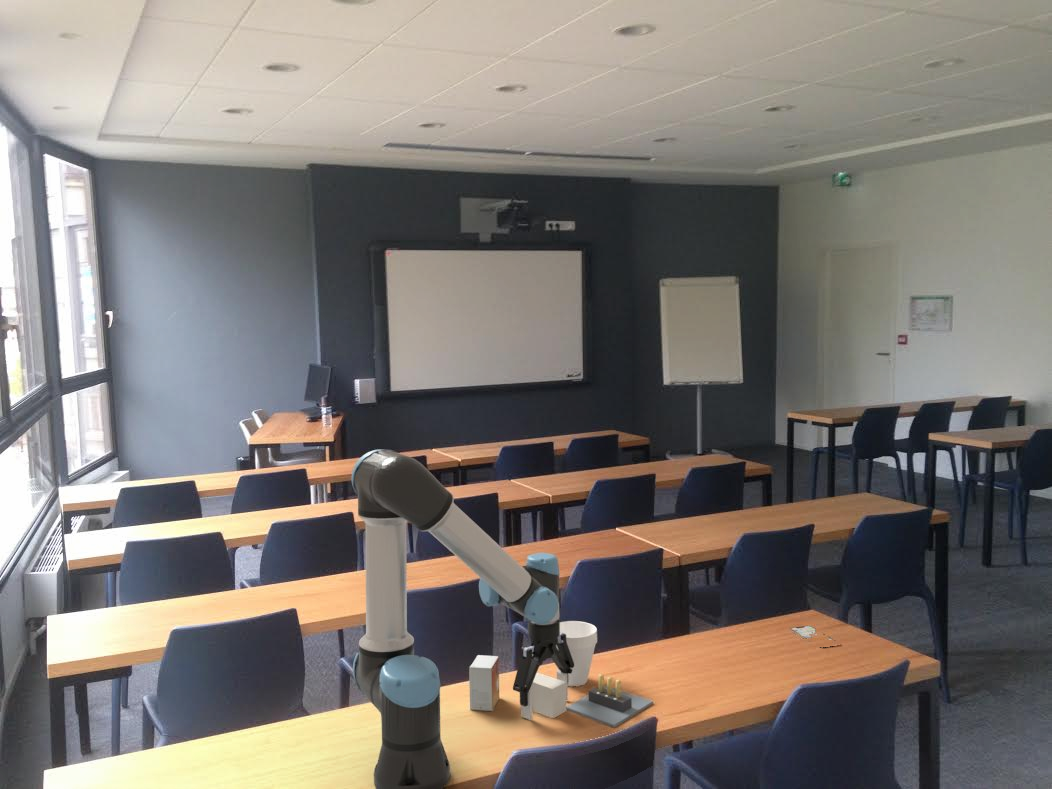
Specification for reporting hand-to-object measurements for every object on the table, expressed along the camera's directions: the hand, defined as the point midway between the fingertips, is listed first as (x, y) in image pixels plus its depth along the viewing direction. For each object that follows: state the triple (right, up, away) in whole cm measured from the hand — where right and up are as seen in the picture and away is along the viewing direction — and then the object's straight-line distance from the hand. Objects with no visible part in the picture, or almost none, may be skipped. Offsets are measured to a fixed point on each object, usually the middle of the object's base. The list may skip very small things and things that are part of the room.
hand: (545, 708), depth 197 cm
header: (+15, 0, +1) cm, 15 cm away
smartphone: (+79, +3, +44) cm, 90 cm away
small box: (-14, 0, +3) cm, 15 cm away
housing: (0, 0, 0) cm, 0 cm away
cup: (+8, +1, +16) cm, 18 cm away
